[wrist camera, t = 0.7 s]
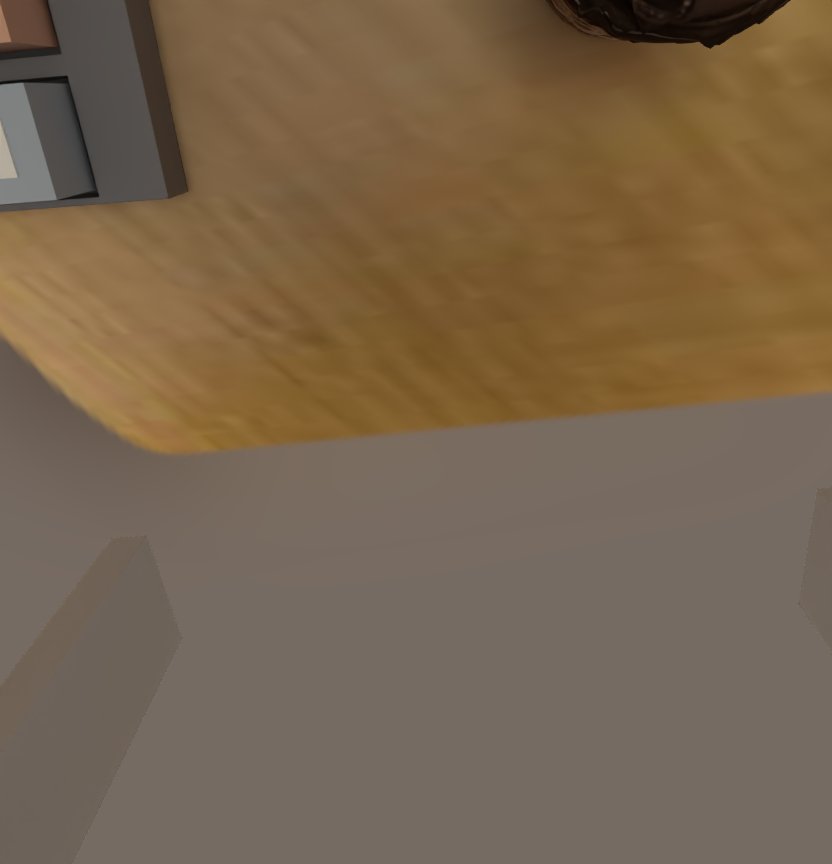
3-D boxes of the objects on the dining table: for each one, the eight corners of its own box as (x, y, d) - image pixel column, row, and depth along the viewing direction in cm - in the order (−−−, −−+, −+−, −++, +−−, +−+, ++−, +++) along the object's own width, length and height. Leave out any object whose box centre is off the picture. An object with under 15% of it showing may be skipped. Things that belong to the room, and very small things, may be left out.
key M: (-40, 93, 31) (-100, 93, 27) (68, 83, 30) (20, 82, 27) (-6, 197, 33) (-59, 209, 29) (96, 189, 32) (55, 200, 29)
